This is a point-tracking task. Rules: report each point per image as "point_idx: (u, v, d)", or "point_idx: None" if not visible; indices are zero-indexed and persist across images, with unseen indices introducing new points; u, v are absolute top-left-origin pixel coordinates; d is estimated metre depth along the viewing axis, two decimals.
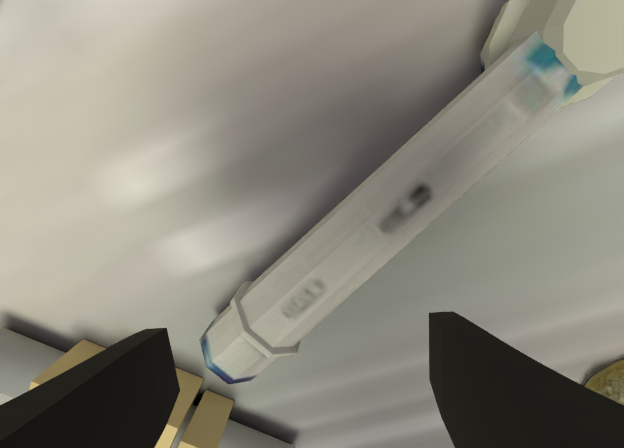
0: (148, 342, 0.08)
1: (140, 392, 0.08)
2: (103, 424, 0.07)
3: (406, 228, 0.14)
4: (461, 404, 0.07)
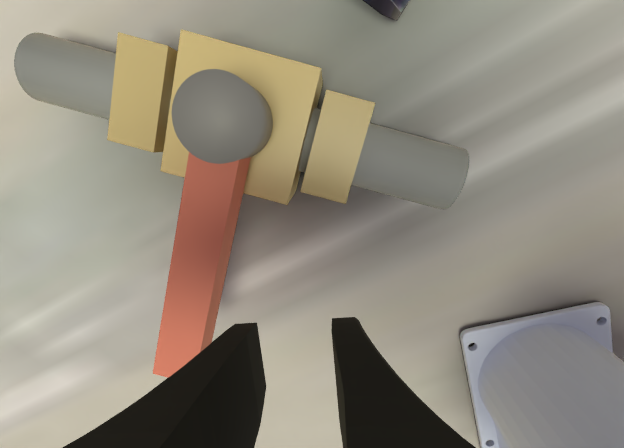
0: (248, 337, 0.08)
1: (245, 388, 0.08)
2: (225, 420, 0.06)
3: None
4: (340, 408, 0.07)
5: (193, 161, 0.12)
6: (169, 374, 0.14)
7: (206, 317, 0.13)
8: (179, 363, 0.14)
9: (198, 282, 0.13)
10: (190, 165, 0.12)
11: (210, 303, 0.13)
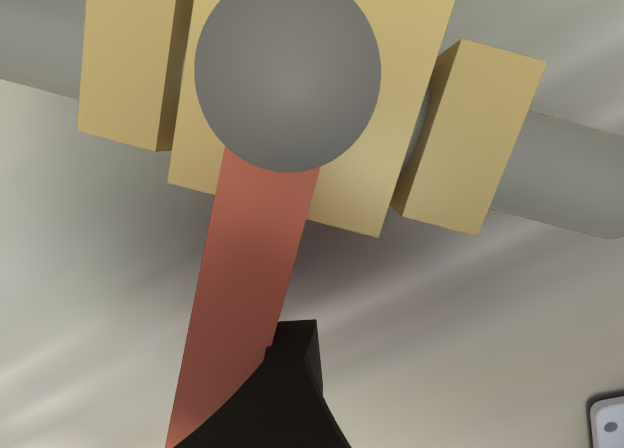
0: (314, 333, 0.08)
1: None
2: None
3: None
4: None
5: (233, 167, 0.06)
6: None
7: None
8: None
9: (233, 381, 0.07)
10: (225, 173, 0.06)
11: None
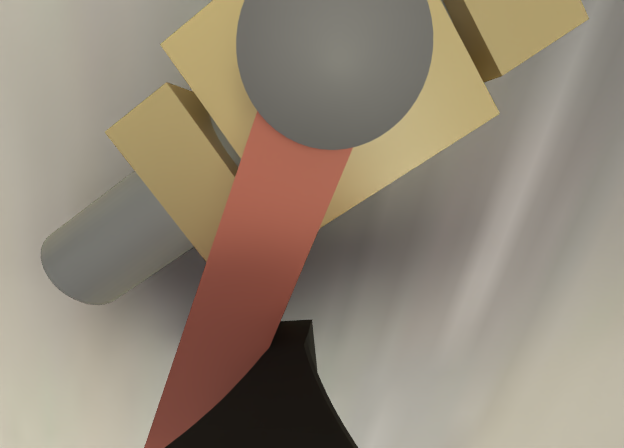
0: (309, 333, 0.08)
1: None
2: None
3: None
4: None
5: (261, 139, 0.06)
6: None
7: None
8: None
9: (233, 362, 0.07)
10: (252, 144, 0.06)
11: None
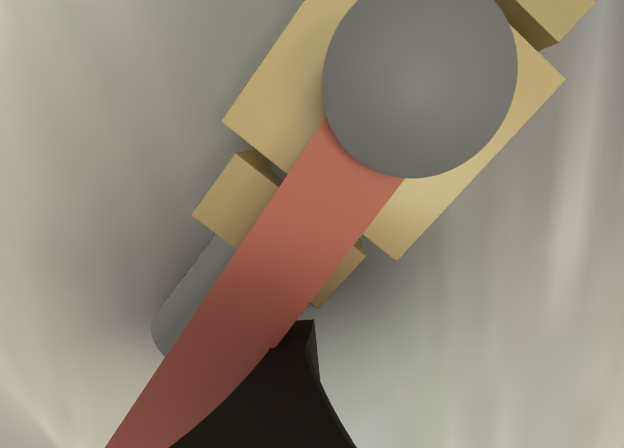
0: (311, 333, 0.08)
1: None
2: None
3: None
4: None
5: (320, 147, 0.06)
6: None
7: None
8: None
9: (235, 356, 0.07)
10: (311, 151, 0.06)
11: None
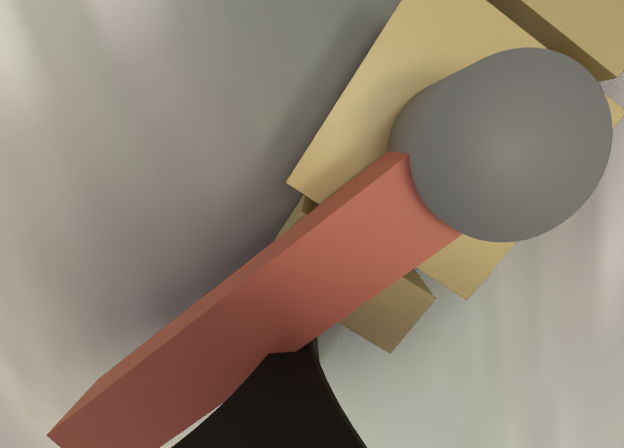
0: None
1: None
2: None
3: None
4: None
5: (393, 182, 0.06)
6: None
7: (207, 412, 0.07)
8: (105, 447, 0.07)
9: (238, 359, 0.07)
10: (383, 182, 0.06)
11: None
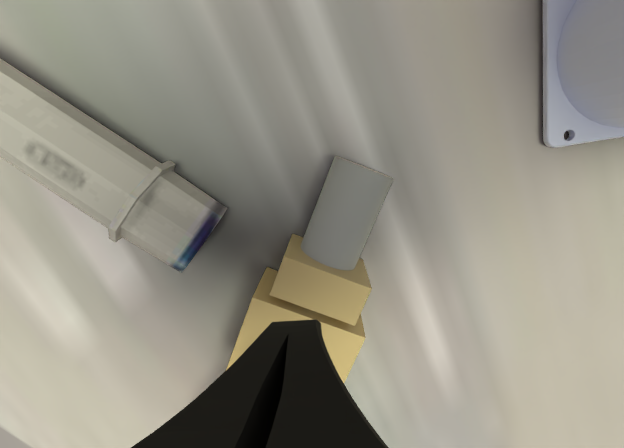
0: None
1: None
2: None
3: None
4: None
5: None
6: None
7: None
8: None
9: None
10: None
11: None
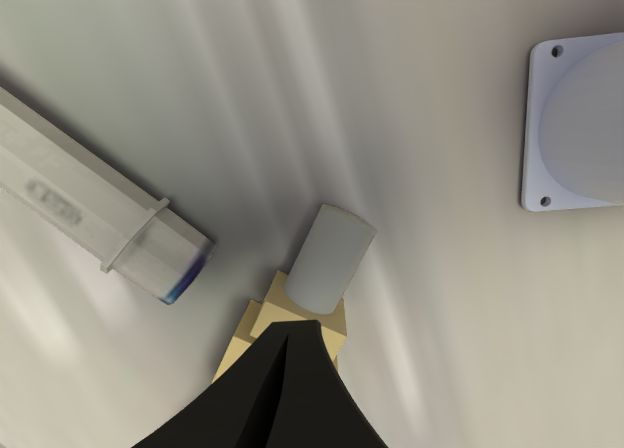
0: None
1: None
2: None
3: None
4: None
5: None
6: None
7: None
8: None
9: None
10: None
11: None
